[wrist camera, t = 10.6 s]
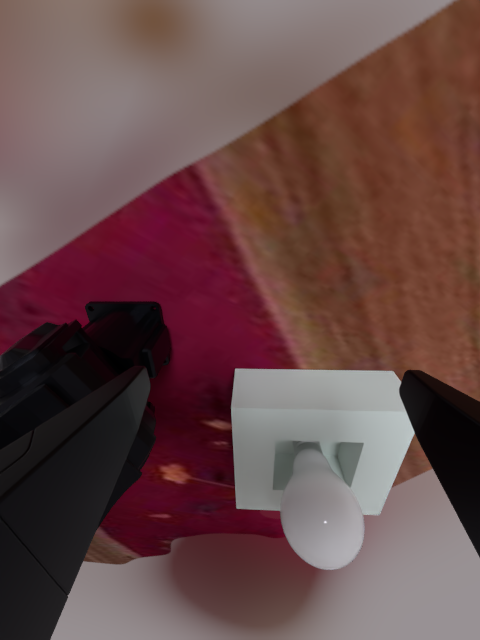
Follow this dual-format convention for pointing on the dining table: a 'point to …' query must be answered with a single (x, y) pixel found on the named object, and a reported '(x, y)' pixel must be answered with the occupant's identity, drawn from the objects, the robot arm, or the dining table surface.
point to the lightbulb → (320, 511)
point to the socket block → (317, 431)
